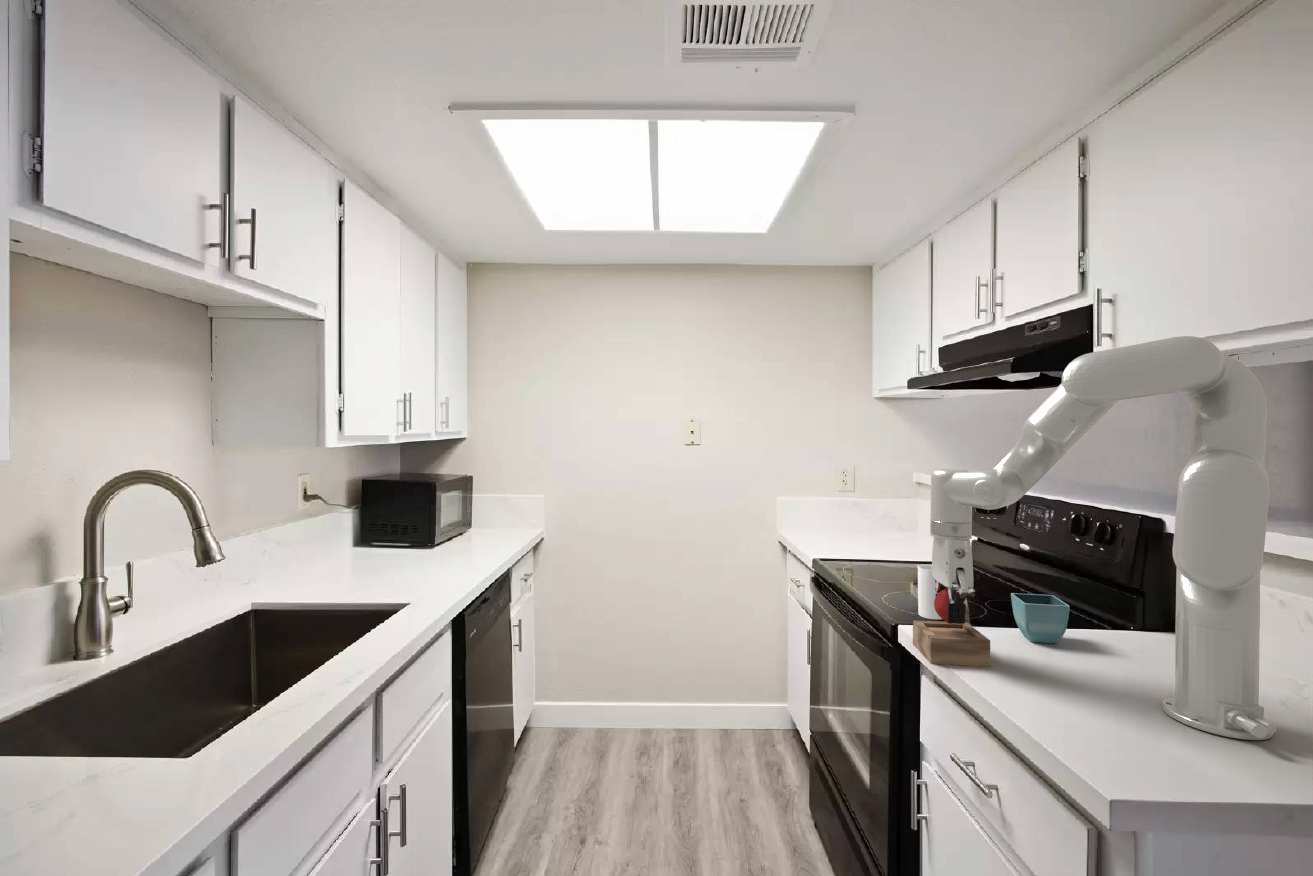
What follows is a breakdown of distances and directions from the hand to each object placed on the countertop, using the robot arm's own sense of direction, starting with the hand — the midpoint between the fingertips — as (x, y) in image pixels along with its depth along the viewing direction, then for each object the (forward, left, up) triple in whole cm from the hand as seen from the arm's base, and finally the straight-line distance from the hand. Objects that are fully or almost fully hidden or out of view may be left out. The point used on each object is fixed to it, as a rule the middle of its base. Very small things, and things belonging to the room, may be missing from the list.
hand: (949, 617), depth 119 cm
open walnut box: (0, 0, -8) cm, 8 cm away
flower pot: (+12, -23, -8) cm, 27 cm away
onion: (0, 0, -2) cm, 2 cm away
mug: (+26, -7, -8) cm, 28 cm away
